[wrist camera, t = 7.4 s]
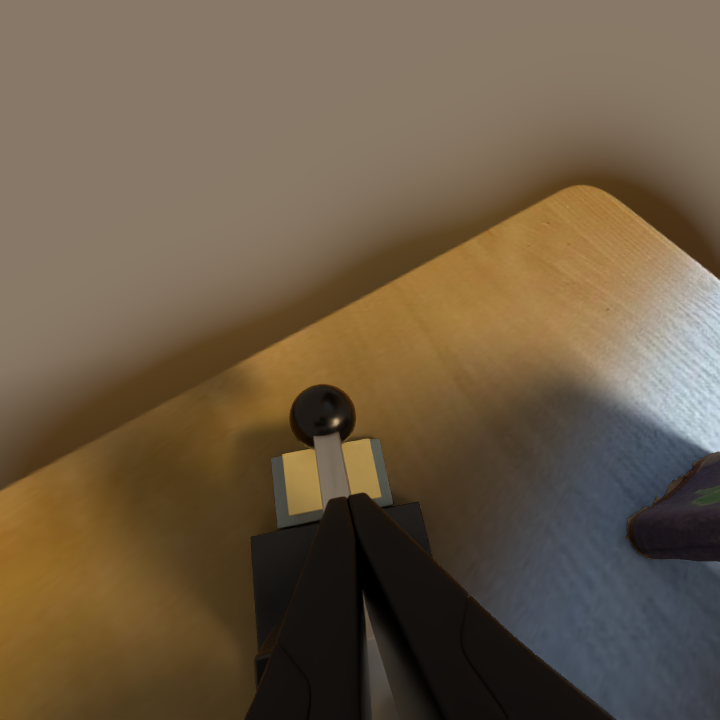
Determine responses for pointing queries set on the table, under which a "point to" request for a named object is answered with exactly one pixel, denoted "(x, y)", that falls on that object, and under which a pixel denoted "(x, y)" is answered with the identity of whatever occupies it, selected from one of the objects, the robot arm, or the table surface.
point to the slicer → (299, 572)
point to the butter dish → (283, 496)
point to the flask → (682, 517)
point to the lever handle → (338, 495)
